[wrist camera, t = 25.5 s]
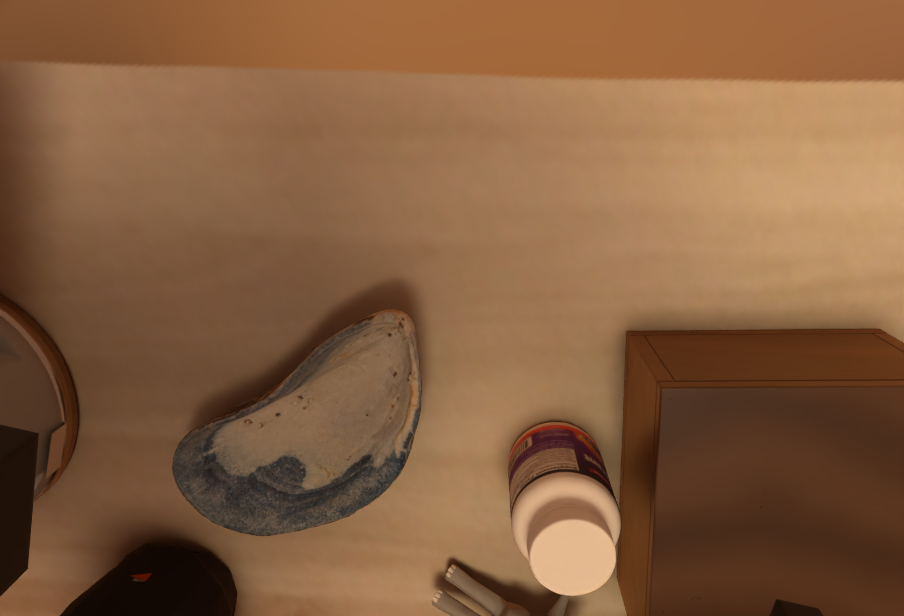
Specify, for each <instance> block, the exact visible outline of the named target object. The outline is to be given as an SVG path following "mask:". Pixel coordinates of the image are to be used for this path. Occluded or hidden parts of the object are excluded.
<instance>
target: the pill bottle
mask: <svg viewBox="0 0 904 616" xmlns="http://www.w3.org/2000/svg"><path fill="white" fill-rule="evenodd" d="M508 474H509V491H510V510H511V512H510V513H511V525H512V532H513V536H514V539H515V542H516V544H517V546H518V548H519V549H520V551H521V552H522V554H523V555H524V556H525V557H526V558H527V559H528V560H529V562H530V567H531V570H532V572H533V574H534V576H535V577H536V579H537V580H538V581H539V582H540V583H541V584H542V585H543V586H544V587H546V588H547V589H549V590H550V591H553V592H555V593H558V594H562V595H568V596H577V595H583V594H587V593H590V592H592V591H594V590H596V589H598V588H599V587H601V586H602V585H603V584H604V583H605V582H606V581H607V580H608V579H609V577H610V576H611V574H612V572H613V570H614V567H615V563H616V550H615V546H616V544H617V541H618V538H619V535H620V529H621V519H620V511H619V508H618V505H617V502H616V499H615V496H614V493H613V490H612V487H611V484H610V481H609V478H608V475H607V472H606V469H605V466H604V463H603V460H602V457H601V454H600V452H599V450H598V448H597V446H596V444H595V442H594V441H593V440H592V438H591V437H590V436H589V435H588V434H587V433H586V432H584V431H583V430H581V429H580V428H578V427H576V426H574V425H571V424H568V423H562V422H549V423H543V424H540V425H537V426H535V427H533V428H531V429H529V430H528V431H526V432H525V433H524V434H523V435H522V436H521V437H520V438H519V439H518V440H517V441H516V443H515V444H514V446H513V448H512V450H511V453H510V457H509V466H508Z"/></svg>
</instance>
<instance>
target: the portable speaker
mask: <svg viewBox="0 0 904 616" xmlns="http://www.w3.org/2000/svg"><path fill="white" fill-rule="evenodd" d="M236 597H237V591H236V588H235V585H234V582H233V579H232V576H231V573H230V570H229V569H228V568H227V567H226V566H224V565H223V564H222V563H221V562H220V561H219V560H218V559H217V558H216V557H215V556H214V555H213V554H212V553H211V552H204V553H194V552H189V551H185V550H181V549H176V548H174V547H151V546H149V545H148V544H147V543H146V544H145V545H143V546H141V547H140V548H138V549H136V550H135V551H133V552H131V553H130V554H128V555H126V556H125V557H124V559H123V560H122V561H121V562H120V564H119V565H117V566H116V567H115V568H113V569H112V570H111V571H110V572H108V573H107V574H106V575H105V576H103V577H102V578H101V579H100V580H99V581H97V582H96V583H95V584H94V585H92V586H91V587H90V588H89V589H88V590H86V591H85V592H84V593H83V594H81V595H80V596H79V597H78V598H76V599H75V600H74V601H73V602H72V603H70V605H69V606H68V607H67V608H66V609H65V610H64V612H63V613H62V614H61V615H60V616H234V611H235V604H236Z"/></svg>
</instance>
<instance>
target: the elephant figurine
mask: <svg viewBox="0 0 904 616" xmlns="http://www.w3.org/2000/svg"><path fill="white" fill-rule="evenodd" d="M445 579H446V580H447V581H448V582H450V583H451V584H453V585H455V586H456V587H458V588H459V589H460V590H462V591H463V592H464V593H466V594H467V595H469V596H470V597H471V598H473V599H474V600H476V601H477V602H478V603H480V604H481V605H482V606H483V607H485V608H486V609H487V610H489V611H490V612H491V613H492V615H493V616H530V613H529V611H528V610H526V609H525V608H524V607H523V606H520V605H518V604H514V603H508V602H506V601H504V599H503V598H501V597H500V596H499V595H497V594H496V593H494V592H492V591H491V590H489V589H487V588H486V587H484V586H483V585H481V584H480V583H478V582H477V581H475V580H474V579H473V578H471V577H470V576H469V575H468V574H466V573H465V572H464V571H463V570H462V569H460V568H459V567H458V566H456V565H455V564H452V566H451V567H450V568H449V569H448V572H447V574H446V578H445ZM569 597H570V596H568V595H562V594H561V596H560V598H559V600H558V601H557V602H556V603H555V605H554V606H553V607H552V608H551V610H550V611H549V613H548V614H547V616H564V615H565V610H566V606H567V603H568V600H569ZM432 605H434V606H435V607H437V608H438V609H440V610H442V611H443V612H445V613H447V614H449V615H450V616H481V615H479V614H477V613H476V612H474V611H473V610H471V609H470V608H468V607H467V606H465V605H464V604H462V603H461V602H459V601H458V600H456V599H455V598H453V597H452V596H450V595H449V594H448V593H446V592H445V591H444V590H442V589H439V590H438V592H436V593H435V597H434V598H433V600H432Z"/></svg>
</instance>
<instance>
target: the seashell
mask: <svg viewBox="0 0 904 616" xmlns="http://www.w3.org/2000/svg"><path fill="white" fill-rule="evenodd" d="M421 394H422V382H421V377H420V367H419V359H418V350H417V339H416V332H415V328H414V324H413V321H412V319H411V318H410V317H409V316H408V315H407V314H406V313H404V312H402V311H399V310H394V309H387V310H382V311H379V312H376V313H373V314H371V315H369V316H367V317H365V318H363V319H361V320H359V321H358V322H356V323H354V324H352V325H350V326H348V327H347V328H345V329H343V330H341V331H340V332H338V333H336V334H335V335H333V336H331V337H330V338H329V339H327V340H326V341H325V342H324V343H322V344H321V345H319V346H318V347H316V348H314V349H313V350H312V352H311V353H310V354H309V355H308V356H307V357H306V358H305V360H304V361H303V362H302V363H301V364H300V365H299V366H298V367H297V368H296V369H295V370H294V371H293V372H292V373H291V374H290V375H289V376H288V377H287V378H286V379H284V380H283V381H281V382H280V383H278V384H277V385H275V386H274V387H272V388H271V389H269V390H267V391H266V392H264V393H262V394H260V395H258V396H256V397H255V398H253V399H251V400H248V401H246V402H244V403H242V404H240V405H238V406H236V407H234V408H233V409H231V410H229V411H227V412H226V413H224V414H222V415H221V416H219V417H217V418H215V419H213V420H211V421H209V422H207V423H205V424H203V425H201V426H199V427H197V428H196V429H194V430H192V431H191V432H189V433H188V434H187V435H186V436H185V437H184V438H183V439H182V440H181V441H180V442H179V444H178V446H177V448H176V450H175V453H174V458H173V467H172V470H173V475H174V478H175V481H176V484H177V486H178V488H179V489H180V491H181V493H182V495H183V496H184V497H185V498H186V500H187V501H188V502H189V503H190V504H191V505H192V506H193V507H194V508H195V509H196V510H197V511H198V512H199V513H200V514H201V515H203V516H204V517H206V518H208V519H209V520H211V521H212V522H213V523H215V524H217V525H220V526H223V527H225V528H228V529H230V530H234V531H237V532H240V533H245V534H251V535H257V536H270V535H277V534H283V533H289V532H295V531H301V530H304V529H307V528H312V527H317V526H320V525H324V524H328V523H331V522H334V521H337V520H339V519H342V518H345V517H349V516H350V515H352V514H354V513H355V512H356V511H357V510H359V509H361V508H363V507H365V506H367V505H368V504H370V503H371V502H372V501H374V500H375V499H376V498H378V497H379V496H380V495H381V494H382V493H383V492H384V491H386V490H387V489H388V488H389V486H390V485H391V484H392V482H393V481H394V480H396V478H397V477H398V476H399V474H400V473H401V471H402V469H403V468H404V465H405V463H406V461H407V459H408V456H409V453H410V450H411V448H412V444H413V439H414V435H415V431H416V428H417V425H418V421H419V416H420V410H421Z"/></svg>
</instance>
